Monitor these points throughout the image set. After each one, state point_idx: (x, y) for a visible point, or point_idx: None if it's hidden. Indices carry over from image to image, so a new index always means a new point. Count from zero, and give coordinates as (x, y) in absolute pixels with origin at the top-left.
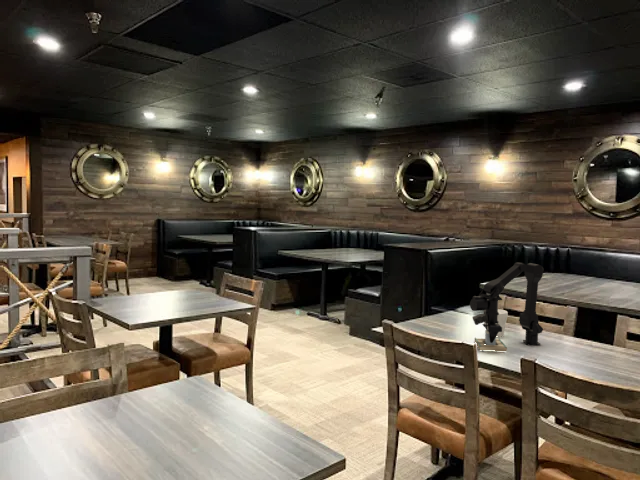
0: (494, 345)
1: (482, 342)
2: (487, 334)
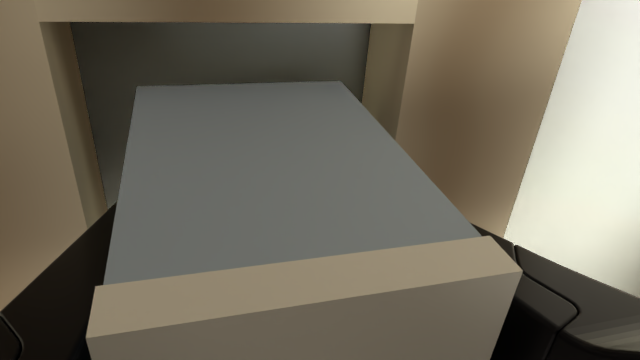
0: (63, 245)
1: (268, 6)
2: (109, 282)
